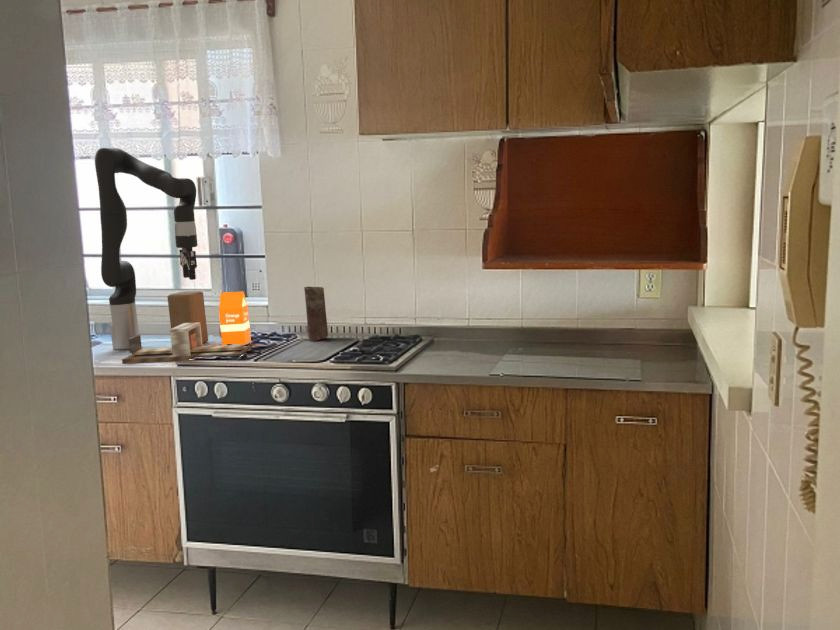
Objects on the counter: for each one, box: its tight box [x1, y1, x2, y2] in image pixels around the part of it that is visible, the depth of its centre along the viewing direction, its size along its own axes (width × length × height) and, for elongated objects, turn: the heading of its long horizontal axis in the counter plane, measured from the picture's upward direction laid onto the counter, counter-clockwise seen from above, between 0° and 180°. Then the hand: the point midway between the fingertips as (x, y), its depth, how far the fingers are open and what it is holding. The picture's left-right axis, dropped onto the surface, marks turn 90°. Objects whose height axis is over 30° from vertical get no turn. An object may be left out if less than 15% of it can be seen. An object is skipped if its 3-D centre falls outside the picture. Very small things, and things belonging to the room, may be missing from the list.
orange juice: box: [218, 291, 252, 345], centre depth 295 cm, size 8×9×20 cm
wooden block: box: [167, 290, 209, 345], centre depth 303 cm, size 10×10×20 cm
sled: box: [128, 333, 244, 355], centre depth 280 cm, size 39×7×6 cm, turn 85°
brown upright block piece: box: [303, 286, 329, 342], centre depth 296 cm, size 8×7×20 cm
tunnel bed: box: [121, 322, 253, 365], centre depth 280 cm, size 42×14×11 cm, turn 85°
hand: (189, 278), depth 292 cm, fingers open, 8 cm apart
